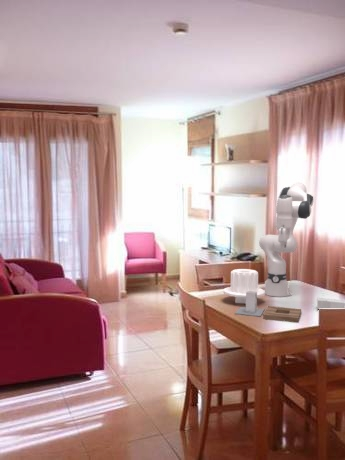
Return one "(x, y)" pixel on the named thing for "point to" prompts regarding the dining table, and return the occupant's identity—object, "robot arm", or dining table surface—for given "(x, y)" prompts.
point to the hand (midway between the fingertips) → (283, 248)
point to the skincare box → (330, 303)
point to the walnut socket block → (282, 314)
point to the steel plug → (251, 302)
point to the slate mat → (243, 312)
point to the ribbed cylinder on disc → (243, 284)
